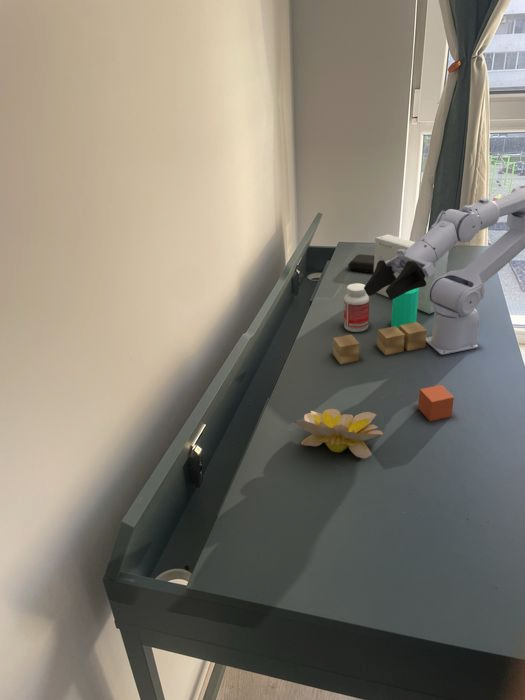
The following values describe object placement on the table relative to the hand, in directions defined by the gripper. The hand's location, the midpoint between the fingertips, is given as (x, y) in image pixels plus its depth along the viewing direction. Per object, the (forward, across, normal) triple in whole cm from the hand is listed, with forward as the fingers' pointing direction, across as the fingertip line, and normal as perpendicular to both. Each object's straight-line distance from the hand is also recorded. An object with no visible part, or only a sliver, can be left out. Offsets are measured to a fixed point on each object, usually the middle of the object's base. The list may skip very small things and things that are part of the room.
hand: (377, 293), depth 104 cm
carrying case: (-30, -56, +19) cm, 66 cm away
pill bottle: (-2, -26, +16) cm, 30 cm away
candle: (-11, -20, +21) cm, 31 cm away
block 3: (-7, -12, +22) cm, 26 cm away
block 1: (+8, -14, +14) cm, 22 cm away
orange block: (+7, +11, +22) cm, 25 cm away
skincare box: (-22, -32, +23) cm, 45 cm away
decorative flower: (+26, +10, +14) cm, 31 cm away
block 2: (-2, -13, +19) cm, 23 cm away
